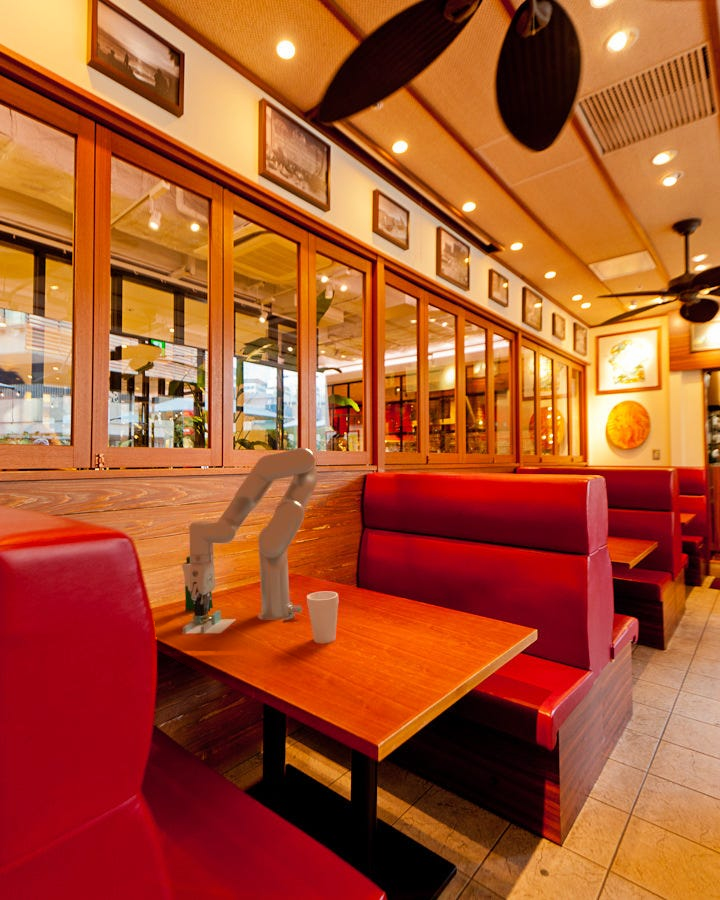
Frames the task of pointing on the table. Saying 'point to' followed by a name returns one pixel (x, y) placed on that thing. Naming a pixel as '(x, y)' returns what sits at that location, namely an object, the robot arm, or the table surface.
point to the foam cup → (323, 615)
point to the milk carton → (189, 602)
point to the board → (207, 624)
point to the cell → (206, 602)
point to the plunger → (206, 618)
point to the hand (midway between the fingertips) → (202, 613)
